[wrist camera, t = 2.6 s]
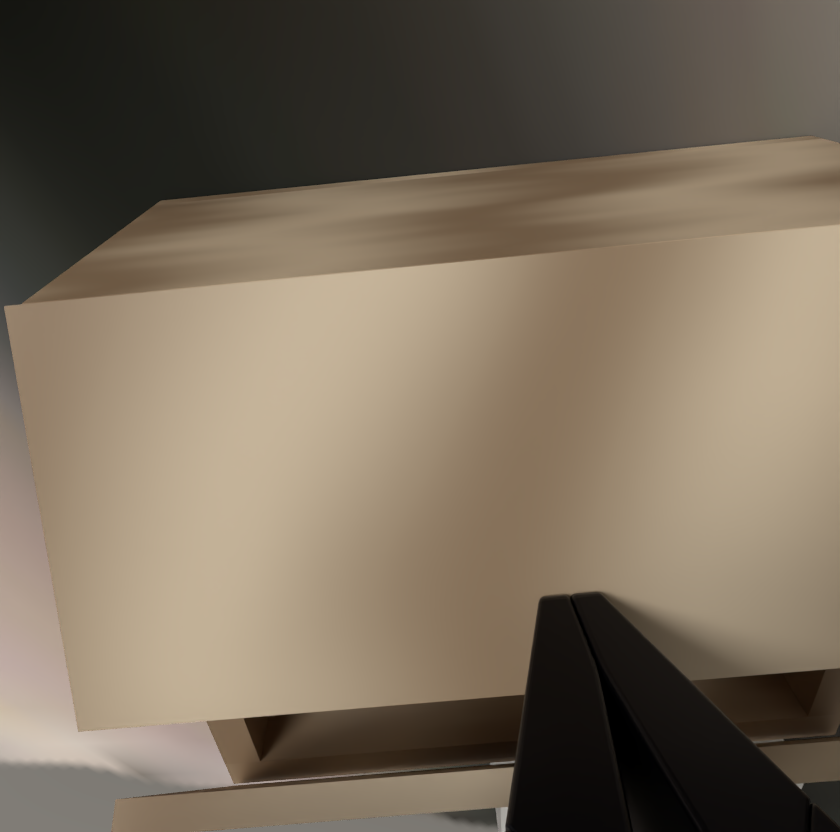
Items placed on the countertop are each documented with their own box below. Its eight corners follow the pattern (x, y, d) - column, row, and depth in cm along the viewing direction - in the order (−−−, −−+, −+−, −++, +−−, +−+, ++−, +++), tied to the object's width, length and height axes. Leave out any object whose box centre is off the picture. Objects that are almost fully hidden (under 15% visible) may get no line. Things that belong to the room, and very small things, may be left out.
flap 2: (1035, 724, 9) (1053, 762, 9) (832, 737, 15) (841, 761, 14) (115, 799, 10) (110, 837, 9) (237, 785, 15) (235, 810, 15)
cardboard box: (811, 135, 14) (1063, 202, 8) (721, 551, 20) (834, 734, 15) (161, 200, 14) (21, 303, 9) (275, 590, 20) (234, 783, 15)
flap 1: (1058, 207, 8) (1099, 199, 8) (1044, 631, 9) (1080, 648, 9) (28, 307, 9) (4, 306, 8) (97, 710, 9) (78, 731, 9)
